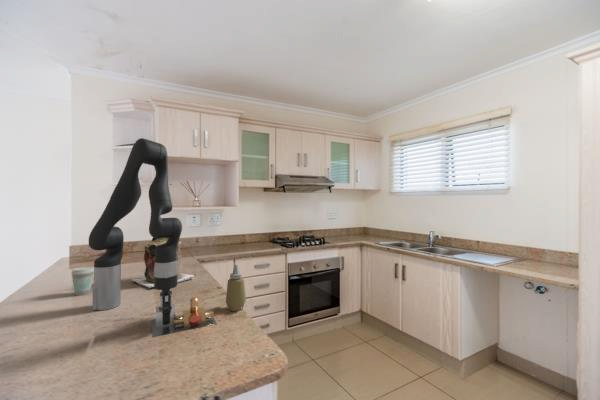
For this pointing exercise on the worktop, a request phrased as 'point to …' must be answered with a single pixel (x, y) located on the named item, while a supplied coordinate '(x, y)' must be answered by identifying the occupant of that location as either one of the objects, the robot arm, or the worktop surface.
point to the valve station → (187, 320)
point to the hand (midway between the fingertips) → (165, 319)
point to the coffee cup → (82, 280)
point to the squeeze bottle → (235, 291)
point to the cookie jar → (150, 263)
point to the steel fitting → (160, 316)
